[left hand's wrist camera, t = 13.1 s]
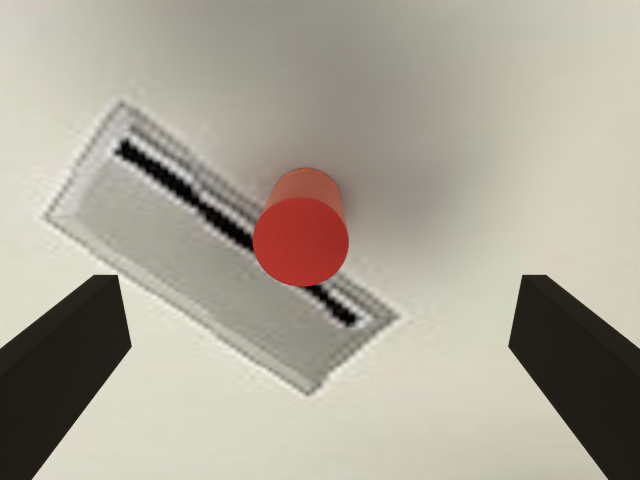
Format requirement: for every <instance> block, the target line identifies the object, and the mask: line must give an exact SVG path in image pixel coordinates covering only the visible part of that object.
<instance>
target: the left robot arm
mask: <svg viewBox="0 0 640 480" xmlns="http://www.w3.org/2000/svg"><path fill="white" fill-rule="evenodd" d="M131 347H132V345H131V340H130V335H129V330H128V325H127V320H126V315H125V310H124V305H123V300H122V295H121V290H120V285H119V280H118V275H93V276H92V277H91V278H89V279H88V280H87V281H86V282H84V283H83V284H82V285H81V286H79V287H78V288H77V289H75V290H74V291H73V292H72V293H70V294H69V295H68V296H67V297H65V298H64V299H63V300H61V301H60V302H59V303H58V304H56V305H55V306H54V307H53V308H51V309H50V310H49V311H48V312H46V313H45V314H44V315H42V316H41V317H40V318H39V319H37V320H36V321H35V322H34V323H32V324H31V325H30V326H29V327H27V328H26V329H25V330H23V331H22V332H21V333H20V334H18V335H17V336H16V337H15V338H13V339H12V340H11V341H9V342H8V343H7V344H6V345H4V346H3V347H2V348H1V349H0V480H32V479H33V477H34V476H35V475H36V473H37V472H38V471H39V469H40V468H41V467H42V465H43V464H44V463H45V461H46V460H47V459H48V457H49V456H50V455H51V453H52V452H53V451H54V449H55V448H56V447H57V445H58V444H59V443H60V441H61V440H62V439H63V437H64V436H65V435H66V433H67V432H68V431H69V429H70V428H71V427H72V425H73V424H74V423H75V421H76V420H77V419H78V417H79V416H80V415H81V413H82V412H83V411H84V409H85V408H86V407H87V405H88V404H89V403H90V401H91V400H92V399H93V398H94V396H95V395H96V394H97V392H98V391H99V390H100V388H101V387H102V386H103V384H104V383H105V382H106V380H107V379H108V378H109V376H110V375H111V374H112V372H113V371H114V370H115V368H116V367H117V366H118V364H119V363H120V362H121V360H122V359H123V358H124V356H125V355H126V354H127V352H128V351H129V350H130V348H131ZM508 347H509V348H510V350H511V351H512V352H513V354H514V355H515V356H516V358H517V359H518V360H519V362H520V363H521V364H522V366H523V367H524V368H525V370H526V371H527V372H528V374H529V375H530V376H531V378H532V379H533V380H534V382H535V383H536V384H537V386H538V387H539V388H540V390H541V391H542V392H543V394H544V395H545V396H546V398H547V399H548V400H549V401H550V403H551V404H552V405H553V407H554V408H555V409H556V411H557V412H558V413H559V415H560V416H561V417H562V419H563V420H564V421H565V423H566V424H567V425H568V427H569V428H570V429H571V431H572V432H573V433H574V435H575V436H576V437H577V439H578V440H579V441H580V443H581V444H582V445H583V447H584V448H585V449H586V451H587V452H588V453H589V455H590V456H591V457H592V459H593V460H594V461H595V463H596V464H597V465H598V467H599V468H600V469H601V471H602V472H603V473H604V475H605V476H606V477H607V479H608V480H640V349H639V348H638V347H637V346H636V345H634V344H633V343H632V342H631V341H629V340H628V339H627V338H625V337H624V336H623V335H622V334H620V333H619V332H618V331H617V330H615V329H614V328H613V327H611V326H610V325H609V324H608V323H606V322H605V321H604V320H603V319H601V318H600V317H599V316H598V315H596V314H595V313H594V312H592V311H591V310H590V309H589V308H587V307H586V306H585V305H584V304H582V303H581V302H580V301H579V300H577V299H576V298H575V297H573V296H572V295H571V294H570V293H568V292H567V291H566V290H565V289H563V288H562V287H561V286H559V285H558V284H557V283H556V282H554V281H553V280H552V279H551V278H549V277H548V276H547V275H522V280H521V285H520V290H519V295H518V300H517V305H516V310H515V315H514V320H513V325H512V330H511V335H510V340H509V345H508Z"/></svg>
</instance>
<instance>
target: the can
mask: <svg viewBox="0 0 640 480" xmlns="http://www.w3.org/2000/svg"><path fill="white" fill-rule="evenodd" d="M348 247H349V238H348V232H347V227H346V221H345V216H344V211H343V205H342V200H341V195H340V192H339V189H338V187H337V185H336V184H335V182H334V181H333V180H332V179H331V178H330V177H329V176H328V175H326V174H325V173H323V172H321V171H319V170H316V169H312V168H300V169H296V170H293V171H290V172H288V173H287V174H285V175H284V176H283V177H282V178H281V179H280V180H279V181H278V182H277V184H276V185H275V187H274V189H273V191H272V193H271V195H270V197H269V199H268V201H267V203H266V205H265V208H264V210H263V212H262V214H261V216H260V218H259V220H258V222H257V224H256V227H255V229H254V234H253V248H254V252H255V255H256V258H257V260H258V262H259V264H260V265H261V266H262V268H263V269H264V270H265V271H266V272H267V273H268V274H269V275H270V276H271V277H273V278H274V279H276V280H278V281H280V282H282V283H285V284H288V285H292V286H311V285H315V284H318V283H321V282H323V281H325V280H327V279H329V278H330V277H331V276H333V275H334V274H335V273H336V272H337V271H338V270H339V269H340V267H341V266H342V264H343V263H344V261H345V259H346V256H347V253H348Z"/></svg>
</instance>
